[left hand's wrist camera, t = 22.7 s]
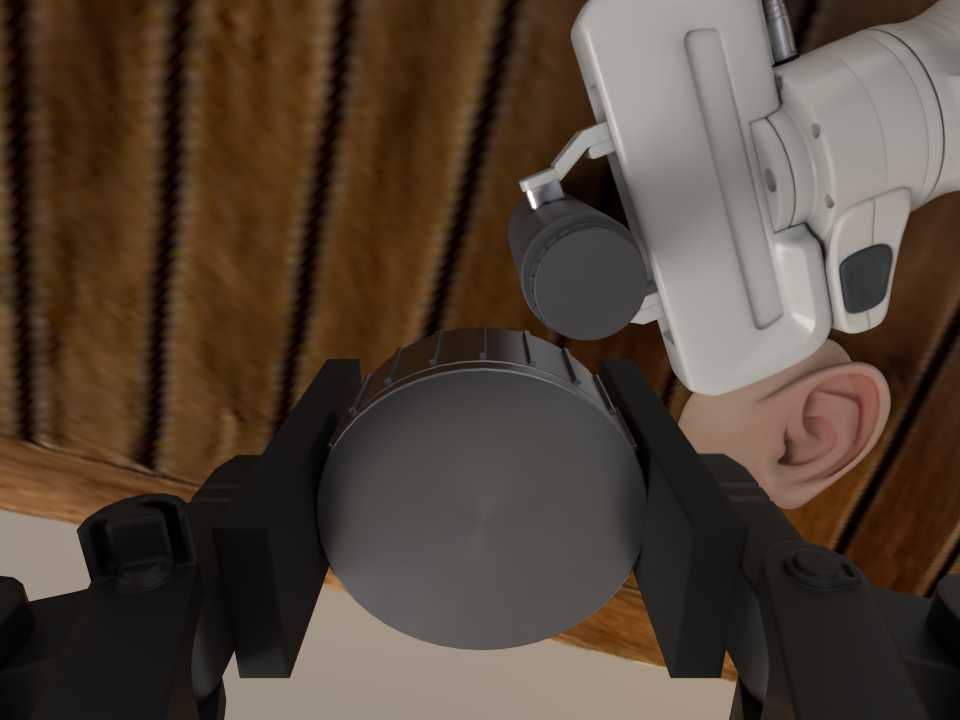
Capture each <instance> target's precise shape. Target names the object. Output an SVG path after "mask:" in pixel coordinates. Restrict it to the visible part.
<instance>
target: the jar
mask: <svg viewBox="0 0 960 720" xmlns="http://www.w3.org/2000/svg"><path fill="white" fill-rule="evenodd" d="M563 194H564V197H565V198H562V199H560V200H557V201H555V202H547V201H546V203H545V204H544V206H542V207H540V208H538V209H534V210H529V208H528V205H527V203H526V200H525V198H524V199H523V200H522V201H521V202H520V203H519V204H518V205H517V206H516V208H515V209H514V211H513V212H512V214H511V217H510V220H509V223H508V241H509V245H510V249H511V252H512V256H513V260H514V263H515V267H516V270H517V274H518V277H519V281H520V285H521V288H522V292H523V295H524V298H525V300H526V302H527V304H528V306H529V308H530V309H531V311H532V312H533V313H534V314H535V315H536V317H537V318H539V319H540V320H541V321H542V322H543V323H544V324H545V325H546V326H547V327H548V328H549V329H550V330H551V331H552V330H553V329H554V330H556V331H557V332H558V333H560V334H562V335H564V336H567V337H570V338H573V339H578V340H596V339H601V338H605V337H608V336H610V335H612V334H615V333H616V332H618V331H620V330H621V329H623V328H624V327H625V326H626V325H628V324H629V323H630V322H631V321H632V319H633V318H634V317H635V316H636V315H637V313H638V311H639V310H640V308H641V306H642V304H643V302H644V299H645V295H646V291H647V271H646V267H645V264H644V261H643V258H642V254H641V251H640V248H639V246H638V244H637V242H636V240H635V238H634V237H633V236H632V234H631V233H630V232H629V231H628V230H627V229H626V228H625V227H624V226H623V225H622V224H620V223H619V222H618V221H616V220H614V219H612V218H610V217H609V216H607V215H605V214H603V213H602V212H600V211H598V210H596V209H594V208H593V207H591V206H589V205H587V204H586V203H584V202H582V201H580V200H578V199H577V198H575V197H573V196H571V195H570V194H568V193H566V192H563Z"/></svg>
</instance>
